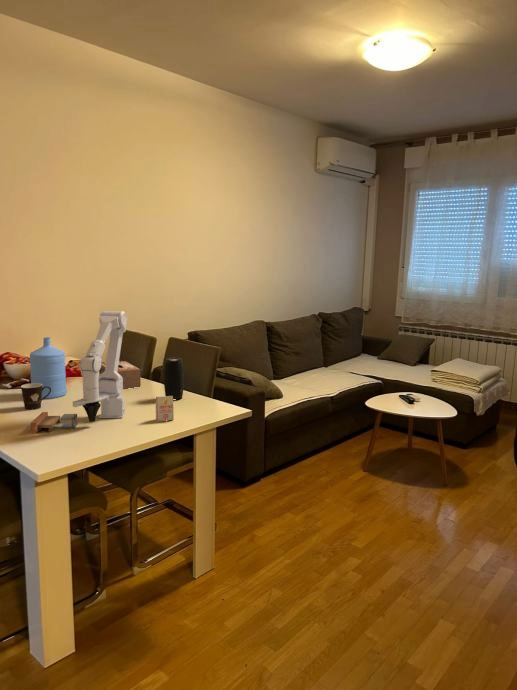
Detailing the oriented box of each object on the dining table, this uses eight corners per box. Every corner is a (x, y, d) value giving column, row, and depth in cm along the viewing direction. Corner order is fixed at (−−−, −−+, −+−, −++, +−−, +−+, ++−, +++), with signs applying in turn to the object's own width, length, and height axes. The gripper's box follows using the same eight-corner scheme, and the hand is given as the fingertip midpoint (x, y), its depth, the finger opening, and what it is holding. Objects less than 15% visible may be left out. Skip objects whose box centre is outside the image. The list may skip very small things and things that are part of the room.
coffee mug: (20, 411, 213) (19, 388, 212) (24, 405, 221) (22, 383, 220) (49, 409, 216) (48, 387, 215) (52, 404, 225) (51, 382, 223)
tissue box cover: (140, 388, 259) (140, 369, 258) (112, 391, 252) (112, 371, 250) (125, 378, 281) (125, 361, 279) (99, 381, 273) (98, 363, 272)
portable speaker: (187, 399, 238) (187, 358, 235) (169, 402, 232) (169, 360, 229) (178, 395, 245) (178, 356, 242) (161, 398, 239) (160, 358, 236)
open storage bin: (77, 424, 197) (77, 413, 196) (74, 428, 192) (74, 417, 191) (64, 425, 196) (64, 413, 195) (61, 429, 191) (60, 417, 190)
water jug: (58, 399, 233) (56, 340, 228) (25, 399, 233) (22, 339, 229) (71, 391, 248) (69, 335, 244) (40, 390, 248) (37, 335, 244)
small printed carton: (155, 419, 205) (155, 395, 204) (172, 418, 208) (172, 394, 206) (156, 422, 202) (156, 398, 200) (173, 420, 204) (173, 397, 203)
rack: (61, 421, 200) (60, 411, 200) (50, 432, 186) (50, 422, 186) (42, 421, 199) (42, 412, 199) (31, 433, 186) (30, 422, 185)
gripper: (101, 382, 200) (102, 415, 202) (68, 388, 190) (69, 423, 192) (111, 385, 196) (112, 419, 198) (77, 392, 185) (78, 427, 187)
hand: (92, 421), depth 194 cm, fingers closed
